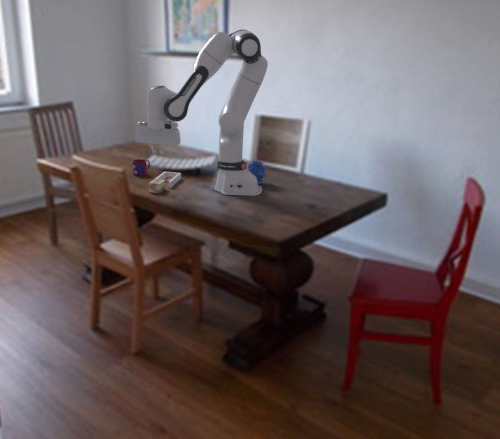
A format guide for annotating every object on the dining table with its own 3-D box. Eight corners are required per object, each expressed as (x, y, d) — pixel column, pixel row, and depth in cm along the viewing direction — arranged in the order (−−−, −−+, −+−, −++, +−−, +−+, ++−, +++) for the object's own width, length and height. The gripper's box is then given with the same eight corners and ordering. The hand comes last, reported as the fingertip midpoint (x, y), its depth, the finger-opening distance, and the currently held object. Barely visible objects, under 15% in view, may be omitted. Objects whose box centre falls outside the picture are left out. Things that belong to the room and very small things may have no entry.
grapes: (251, 187, 265) (252, 163, 261) (243, 184, 270) (244, 160, 266) (270, 184, 272) (271, 160, 268) (261, 181, 277) (263, 157, 273)
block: (165, 189, 258) (165, 180, 257) (159, 193, 252) (159, 184, 250) (155, 188, 259) (154, 178, 258) (149, 192, 253) (148, 182, 251)
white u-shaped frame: (181, 178, 275) (181, 173, 274) (170, 187, 260) (170, 181, 259) (164, 177, 276) (164, 171, 275) (153, 186, 261) (153, 180, 260)
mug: (130, 173, 280) (130, 160, 277) (146, 170, 286) (146, 157, 284) (138, 176, 275) (137, 163, 273) (154, 173, 282) (154, 160, 280)
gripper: (132, 122, 244) (133, 153, 249) (177, 126, 241) (177, 157, 246) (138, 120, 250) (138, 150, 255) (181, 123, 247) (181, 153, 252)
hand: (158, 153), depth 250 cm, fingers open, 2 cm apart
